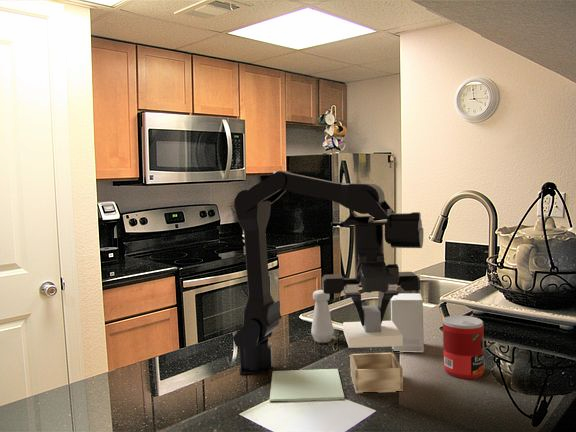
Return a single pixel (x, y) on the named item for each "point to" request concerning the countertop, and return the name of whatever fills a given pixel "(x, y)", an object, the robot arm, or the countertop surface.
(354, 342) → the lid
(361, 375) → the box
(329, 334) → the salt shaker
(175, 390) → the countertop surface
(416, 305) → the supplement box
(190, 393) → the countertop surface
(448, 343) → the canned food
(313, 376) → the mat
